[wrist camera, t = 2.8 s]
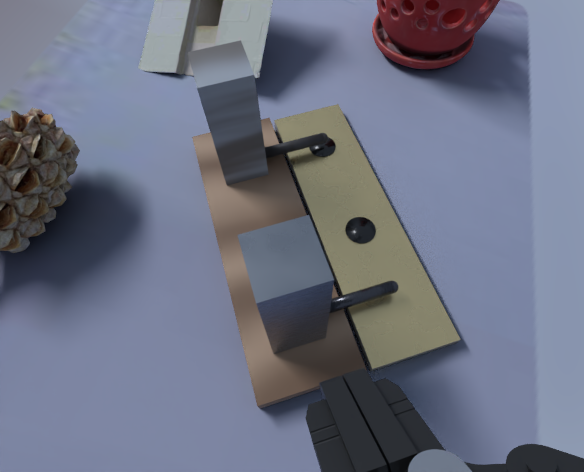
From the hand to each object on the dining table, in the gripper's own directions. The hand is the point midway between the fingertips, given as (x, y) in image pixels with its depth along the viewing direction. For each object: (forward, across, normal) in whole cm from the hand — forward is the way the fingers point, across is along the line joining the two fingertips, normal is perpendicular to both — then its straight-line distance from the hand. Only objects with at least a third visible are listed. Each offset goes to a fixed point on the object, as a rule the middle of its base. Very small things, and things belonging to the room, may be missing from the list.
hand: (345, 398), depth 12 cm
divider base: (+23, -2, +1) cm, 23 cm away
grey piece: (+44, -1, -19) cm, 47 cm away
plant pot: (+38, -25, -13) cm, 47 cm away
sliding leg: (+16, -3, +6) cm, 18 cm away
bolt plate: (+23, -8, +1) cm, 25 cm away
